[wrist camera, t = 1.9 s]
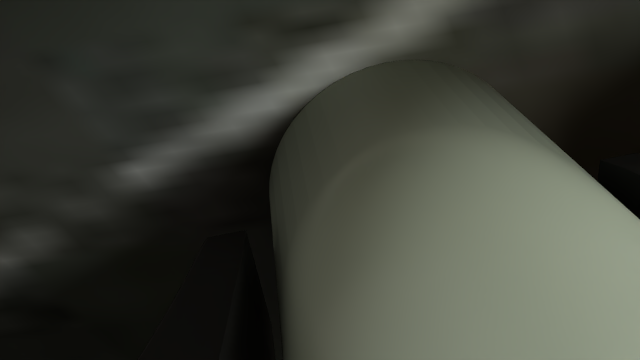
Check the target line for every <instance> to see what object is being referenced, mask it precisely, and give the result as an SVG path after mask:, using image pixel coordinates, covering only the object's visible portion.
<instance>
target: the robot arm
mask: <svg viewBox="0 0 640 360" xmlns="http://www.w3.org/2000/svg"><path fill="white" fill-rule="evenodd" d="M598 183H599V184H601V185H602V186H603V187H604V188H605V189H606V190H607V191H608V192H610V193H611V194H612V195H613V196H614V197H615V198H616V199H617V200H618V201H620V202H621V203H622V204H623V205H624V206H625V207H626V208H627V209H628V210H630V211H631V212H632V213H633V214H634V215H635V216H636V217H637V218H639V219H640V153H634V154H629V155H624V156H619V157H614V158H608V159H603V160H600V167H599V174H598ZM137 360H275V353H274V344H273V335H272V327H271V322H270V318H269V314H268V310H267V307H266V303H265V299H264V296H263V292H262V288H261V285H260V281H259V277H258V273H257V270H256V266H255V262H254V259H253V255H252V251H251V248H250V244H249V240H248V236H247V233H246V230H244V231H239V232H234V233H229V234H224V235H219V236H214V237H209V238H207V239H206V241H205V242H204V243H203V245H202V247H201V249H200V251H199V253H198V255H197V257H196V258H195V260H194V262H193V264H192V266H191V268H190V270H189V272H188V274H187V276H186V278H185V280H184V281H183V283H182V285H181V287H180V289H179V291H178V292H177V294H176V296H175V298H174V300H173V301H172V303H171V305H170V307H169V308H168V310H167V312H166V313H165V315H164V317H163V319H162V320H161V322H160V324H159V325H158V327H157V329H156V330H155V332H154V334H153V336H152V337H151V339H150V341H149V342H148V344H147V345H146V347H145V349H144V350H143V352H142V353H141V355H140V356H139V358H138V359H137Z"/></svg>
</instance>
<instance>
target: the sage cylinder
mask: <svg viewBox="0 0 640 360" xmlns="http://www.w3.org/2000/svg"><path fill="white" fill-rule="evenodd" d="M269 198H270V210H271V222H272V233H273V245H274V257H275V269H276V281H277V293H278V305H279V316H280V328H281V340H282V352H283V360H640V219H639V218H637V217H636V216H635V215H634V214H633V213H632V212H631V211H630V210H628V209H627V208H626V207H625V206H624V205H623V204H622V203H621V202H620V201H618V200H617V199H616V198H615V197H614V196H613V195H612V194H611V193H610V192H608V191H607V190H606V189H605V188H604V187H603V186H602V185H601V184H599V183H598V182H597V181H596V180H595V179H594V178H593V177H592V176H591V175H589V174H588V173H587V172H586V171H585V170H584V169H583V168H582V167H580V166H579V165H578V164H577V163H576V162H575V161H574V160H573V159H572V158H570V157H569V156H568V155H567V154H566V153H565V152H564V151H563V150H562V149H560V148H559V147H558V146H557V145H556V144H555V143H554V142H553V141H551V140H550V139H549V138H548V137H547V136H546V135H545V134H544V133H543V132H541V131H540V130H539V129H538V128H537V127H536V126H535V125H534V124H532V123H531V122H530V121H529V120H528V119H527V118H526V117H525V116H524V115H522V114H521V113H520V112H519V111H518V110H517V109H516V108H515V107H514V106H512V105H511V104H510V103H509V102H508V101H507V100H506V99H505V98H503V97H502V96H501V95H500V94H499V93H498V92H497V91H496V90H495V89H493V88H492V87H491V86H490V85H489V84H488V83H486V82H485V81H483V80H482V79H480V78H479V77H477V76H476V75H474V74H472V73H470V72H468V71H466V70H463V69H461V68H459V67H456V66H452V65H449V64H445V63H442V62H435V61H428V60H401V61H393V62H386V63H382V64H378V65H374V66H370V67H367V68H365V69H362V70H360V71H357V72H354V73H352V74H350V75H348V76H346V77H344V78H342V79H340V80H339V81H337V82H335V83H333V84H332V85H330V86H329V87H328V88H326V89H325V90H323V91H322V92H320V93H319V94H318V95H317V96H316V97H315V98H313V99H312V100H311V101H310V102H309V103H308V104H307V105H306V106H305V107H304V108H303V109H302V110H301V111H300V113H299V114H298V115H297V116H296V117H295V119H294V120H293V121H292V123H291V124H290V126H289V127H288V129H287V130H286V132H285V133H284V135H283V137H282V139H281V141H280V144H279V146H278V148H277V150H276V153H275V156H274V160H273V163H272V167H271V173H270V180H269Z"/></svg>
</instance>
